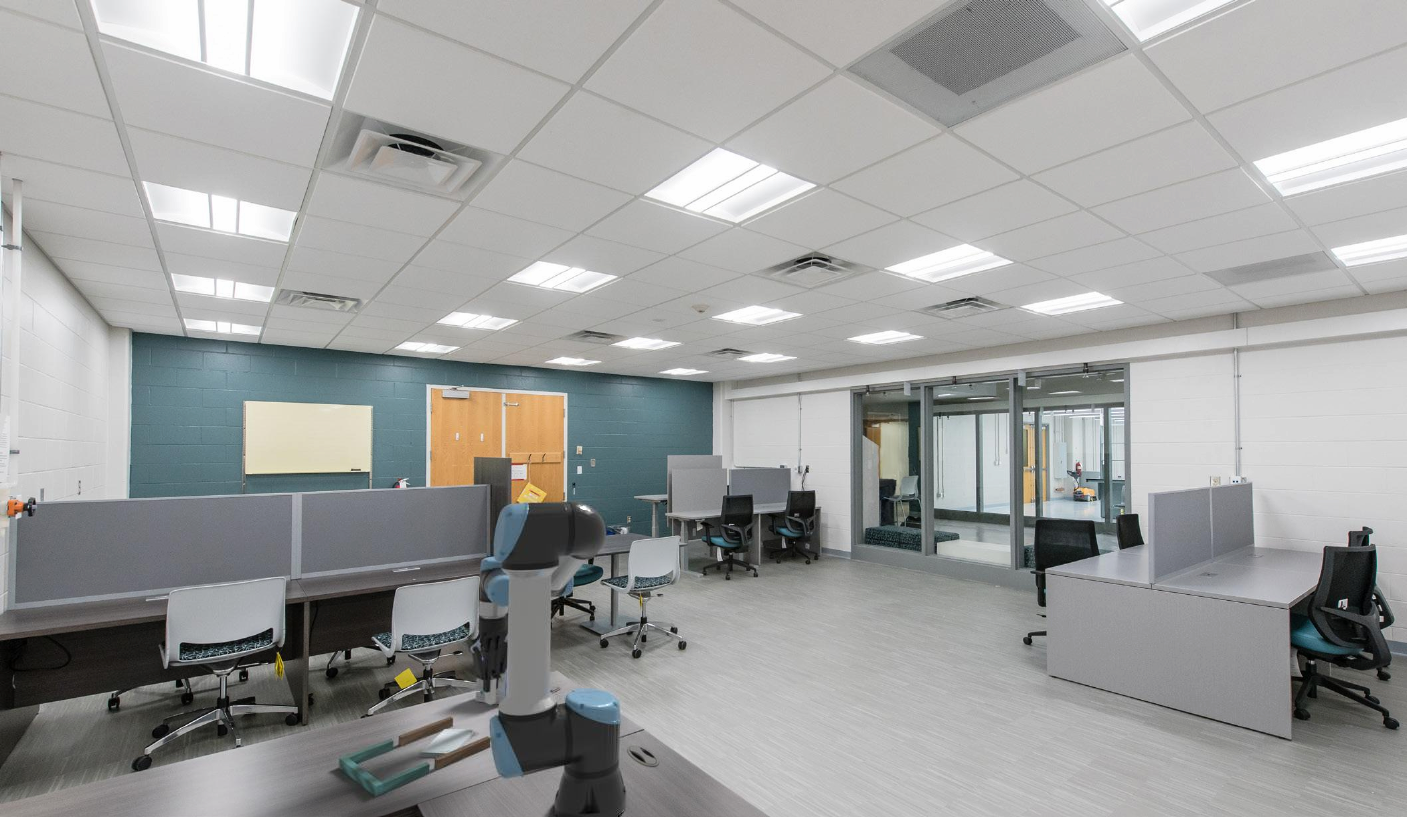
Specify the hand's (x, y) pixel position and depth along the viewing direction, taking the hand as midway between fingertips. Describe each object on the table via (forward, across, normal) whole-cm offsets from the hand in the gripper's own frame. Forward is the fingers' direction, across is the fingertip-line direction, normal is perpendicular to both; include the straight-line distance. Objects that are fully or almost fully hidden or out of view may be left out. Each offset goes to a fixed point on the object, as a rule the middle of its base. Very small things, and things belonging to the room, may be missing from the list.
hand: (490, 702), depth 165 cm
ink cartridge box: (+7, -11, -14) cm, 19 cm away
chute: (+6, +20, 0) cm, 21 cm away
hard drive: (+7, +12, 0) cm, 14 cm away
